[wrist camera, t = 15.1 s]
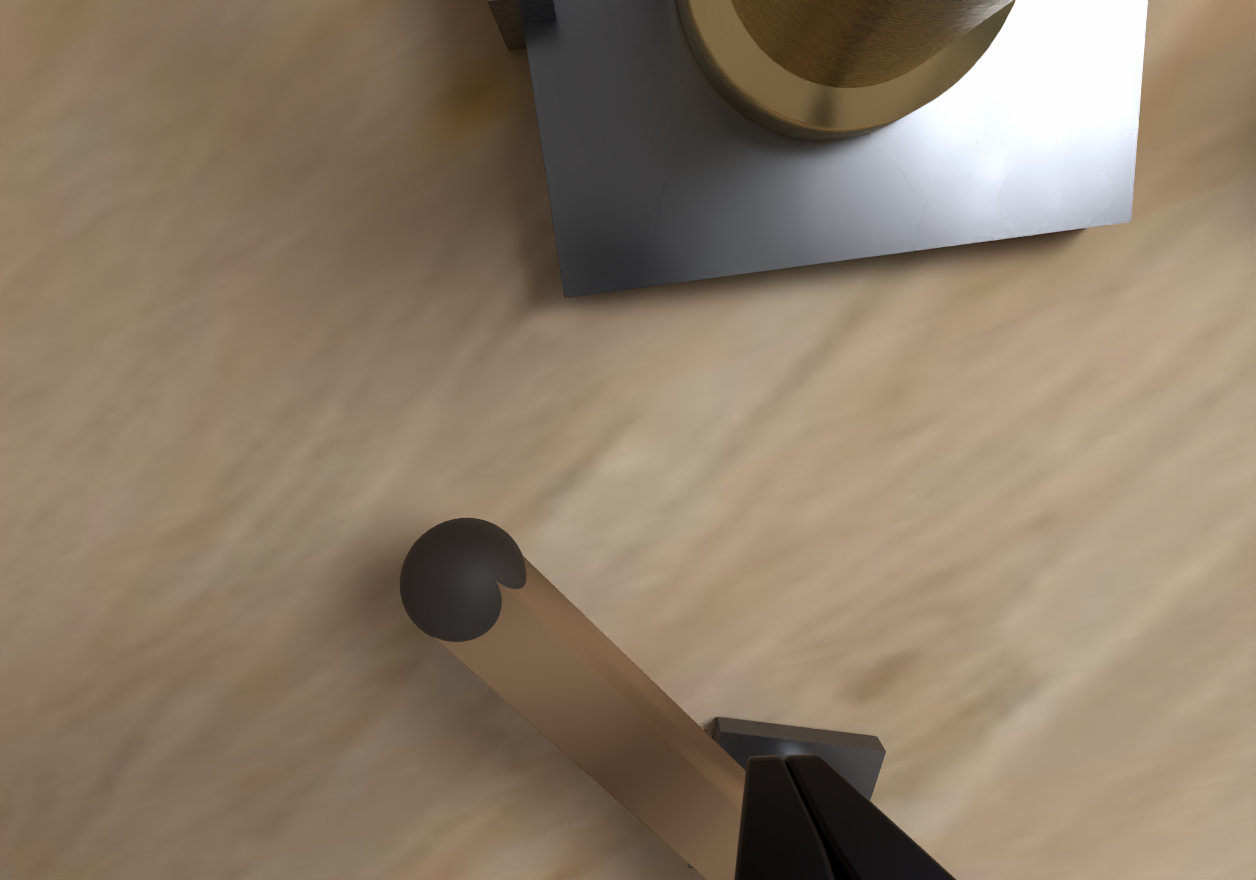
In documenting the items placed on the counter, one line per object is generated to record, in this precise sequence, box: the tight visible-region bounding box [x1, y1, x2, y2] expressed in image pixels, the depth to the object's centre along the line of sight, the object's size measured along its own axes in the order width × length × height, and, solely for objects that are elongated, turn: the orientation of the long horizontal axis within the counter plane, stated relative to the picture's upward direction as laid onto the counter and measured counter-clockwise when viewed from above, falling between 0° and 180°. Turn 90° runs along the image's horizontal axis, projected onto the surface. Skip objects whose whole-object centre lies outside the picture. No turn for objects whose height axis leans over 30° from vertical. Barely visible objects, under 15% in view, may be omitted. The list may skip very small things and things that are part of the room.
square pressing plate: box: [688, 717, 886, 868], centre depth 18 cm, size 5×5×2 cm
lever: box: [400, 518, 746, 880], centre depth 14 cm, size 16×4×3 cm, turn 42°
